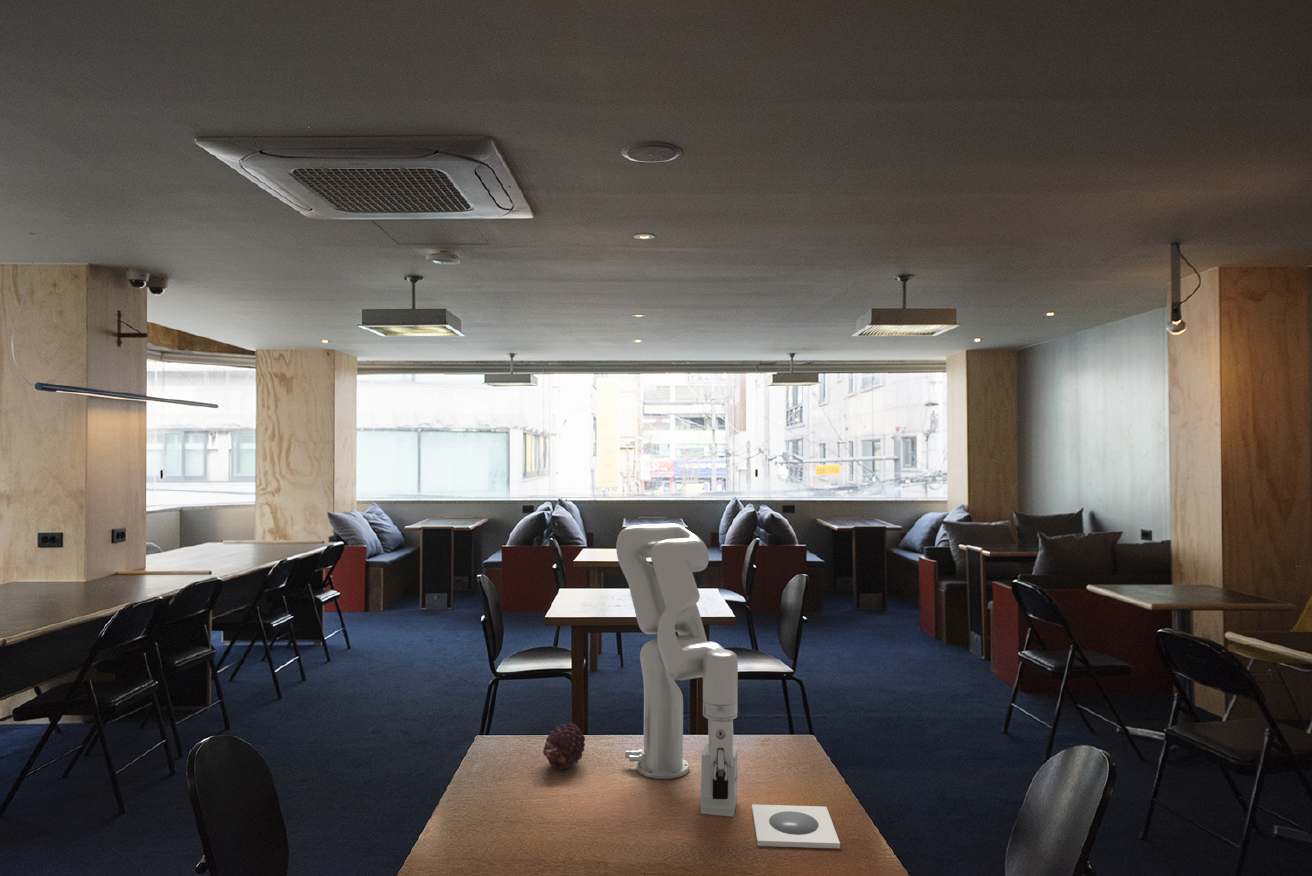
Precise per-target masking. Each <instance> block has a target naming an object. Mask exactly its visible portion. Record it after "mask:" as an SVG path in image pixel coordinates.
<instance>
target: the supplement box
mask: <svg viewBox="0 0 1312 876" xmlns="http://www.w3.org/2000/svg"><path fill="white" fill-rule="evenodd" d="M723 749H724V748H723ZM738 749H739V748H738V745H735V744H733V767H731V766H728V765H727V779H728V799H713V779H714V767H713V766H712V765H711V761H710V753H709V743H705V744H704V747H703V751H702V754H701V763H700V764H701V766H700V767H701V769H700V770H701V773H700V775H701V776H700V777H701V779H700V780H701V781H700V782H701V784H700V814H704V815H712V816H721V817H730V818H731V817H732V818H733V817H735V811H736V807H737V802H738ZM717 755H718V748H717ZM725 762H726V760H725V758H724V765H725ZM716 764H718V756H717V758H716ZM717 771H718V768H716V772H717ZM716 777H717V775H716Z"/></svg>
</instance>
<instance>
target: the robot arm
mask: <svg viewBox="0 0 1312 876" xmlns="http://www.w3.org/2000/svg"><path fill="white" fill-rule="evenodd" d="M615 546H616V547H615V548H616V550H615V551H616V556H617V561H618V563H619V566H620V569H621V571H622V573H623V575H624V577H625V579H626V582H627V584H628V588H629V591H630V596H631V601H632V605H633V609H634V613H635V618H636V620H637V624H638V627H639V629H640V631H641V632H642V633H644V634H646V635H657V636H656V637H657V638H654V639H651V640H649V641H647V642H646V643H644V645H643V646H642V647H641V650H640V653H639V660H640V666H641V673H642V680H643V745H642V749H641V748H640V749H638V750H632V749H625V752H624V753H625V754H624V756H625V759H628V760H629V762H634V763H635V762H637V764H636V770H637V772H638V773H640V775H642V776H644V777H647V778H652V779H655V780H656V779H657V780H670V779H677V778H681V777H683V776H685V775H686V774H687V773H688V772H689V771H690V765H689V762H688V761H687V760H686V759H684V757H683V756H684V753H683V750H684V746H683V744H684V743H683V740H684V697H683V693H682V691H681V688H680V686H679V685H678V684H677V683H676V681H686V680H693V679H697V678H702V716H703V718H705V719H707V721H708V723H707V724H708V725H707V729H708V730H707V732H708V733H707V734H708V744H709V753H710V761H711V765H712V766H713V767H714V779H713V799H728V779H727V765H728V766H731V767H733V745H734V719H737V717H738V696H739V694H738V693H739V692H738V689H739V688H738V682H739V681H738V679H739V678H738V677H739V676H738V675H739V672H738V671H739V668H738V662H739V661H738V656H737V654H736V652H734V651H732V650H730V649H725V648H724V647H723V646H722V645H721V644H719V643H718V642H715V641H708V639H707V635H706V632H705V628H704V624H703V620H702V617H701V614H700V613H701V612H700V611H699V607H698V605H697V603H698V602H699V600H700V597H701V596H700V595H701V594H700V592H699V588H698V587H697V583H696V580H695V577H694V573H697V572H702V571H704V570H705V569H706V568H707V567H708V565H709V561H710V555H709V550H708V547H707V546H706V544H705V542H704V541H703V540H702V539H701V538H700V537H699V536H698V535H696V534H695V533H693V532H691V531H690V530H689V529H687V528H685V527H684V526H683V525H681V524H677V523H672V522H671V523H669V522H668V523H645V524H644V523H642V524H635V525H630V526H627V527H625V528H623V529H622V530H621V531H620V532H619V534H618V535H617V540H616V545H615ZM648 558H649V559H651V563H650V562H649V561H648V560H647V559H648ZM676 633H677V634H676ZM717 748H718V755H717ZM723 748H724V749H723ZM717 756H718V764H716V758H717ZM724 758H725V760H726V762H725V765H724ZM716 768H718V771H717V772H716ZM716 775H717V777H716Z"/></svg>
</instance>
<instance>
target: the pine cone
mask: <svg viewBox="0 0 1312 876" xmlns="http://www.w3.org/2000/svg"><path fill="white" fill-rule="evenodd" d="M585 740H586V737H585V735H584V734H583V733H582V731H581V730H580V728H579V727H578V725H576V724H574V723H573V722H568V723H564V724H559V725H557V726H556V727H554V728H553V729H552V730H551V731H550V732H549V734H548V737H547V738H546V739H545V742H544V747H543V749H542V750H543V751H542V753H543V755H544V756H545V757H546V758H547V760H548V763H549V764H550V766H554V768H555V769H557V768H558V769H559V770H562V769H563V770H565V769H566V770H567V769H568V768H569V767H573V766H574V765H576V764H578V762H579V761H580V760H581V759H582V758H583V752H584V751H585V747H586V743H585Z"/></svg>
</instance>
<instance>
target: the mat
mask: <svg viewBox="0 0 1312 876" xmlns="http://www.w3.org/2000/svg"><path fill="white" fill-rule="evenodd" d="M751 814H752V819H753V827H754V831H755V838H756V844H757V846H758V847H780V848H781V847H783V848H787V847H788V848H809V849H810V848H811V849H812V848H817V849H841V842H840V840H839V837H838V834H837V832H836V829H835V827H834V824H833V820H832V818H831V815H830V813H829V810H828V807H827V806H818V805H817V806H815V805H812V806H811V805H790V804H789V805H786V804H785V805H784V804H783V805H781V804H756V803H755V804H751Z"/></svg>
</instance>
